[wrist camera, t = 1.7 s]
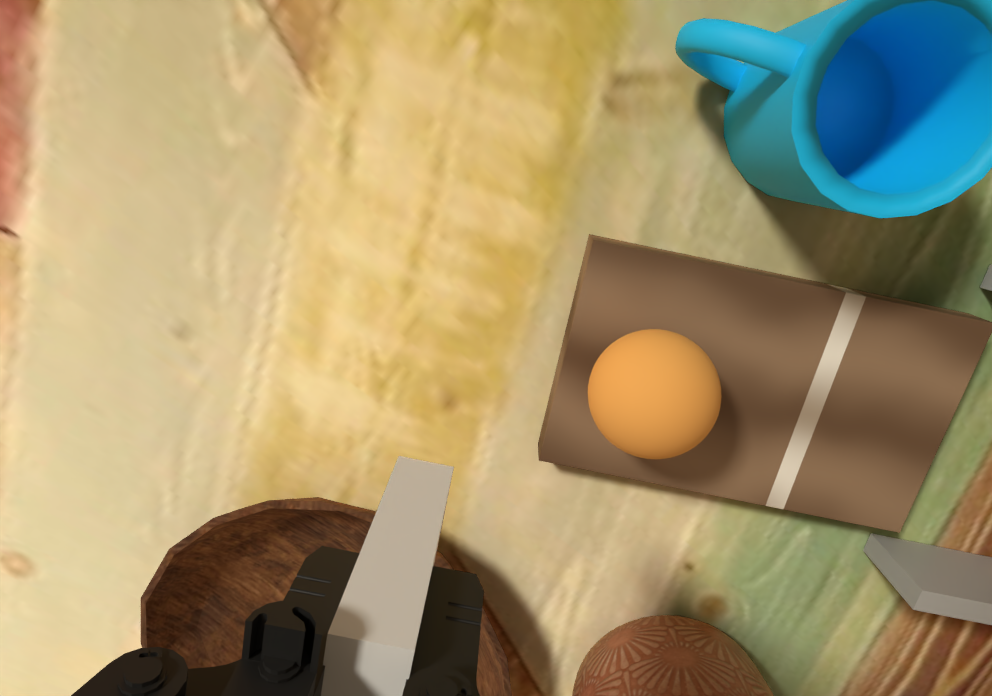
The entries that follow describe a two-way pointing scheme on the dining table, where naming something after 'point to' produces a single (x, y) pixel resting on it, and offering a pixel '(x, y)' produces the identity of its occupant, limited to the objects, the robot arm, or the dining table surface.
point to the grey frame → (937, 570)
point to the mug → (856, 102)
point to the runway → (773, 382)
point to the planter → (668, 662)
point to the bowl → (262, 580)
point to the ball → (654, 394)
